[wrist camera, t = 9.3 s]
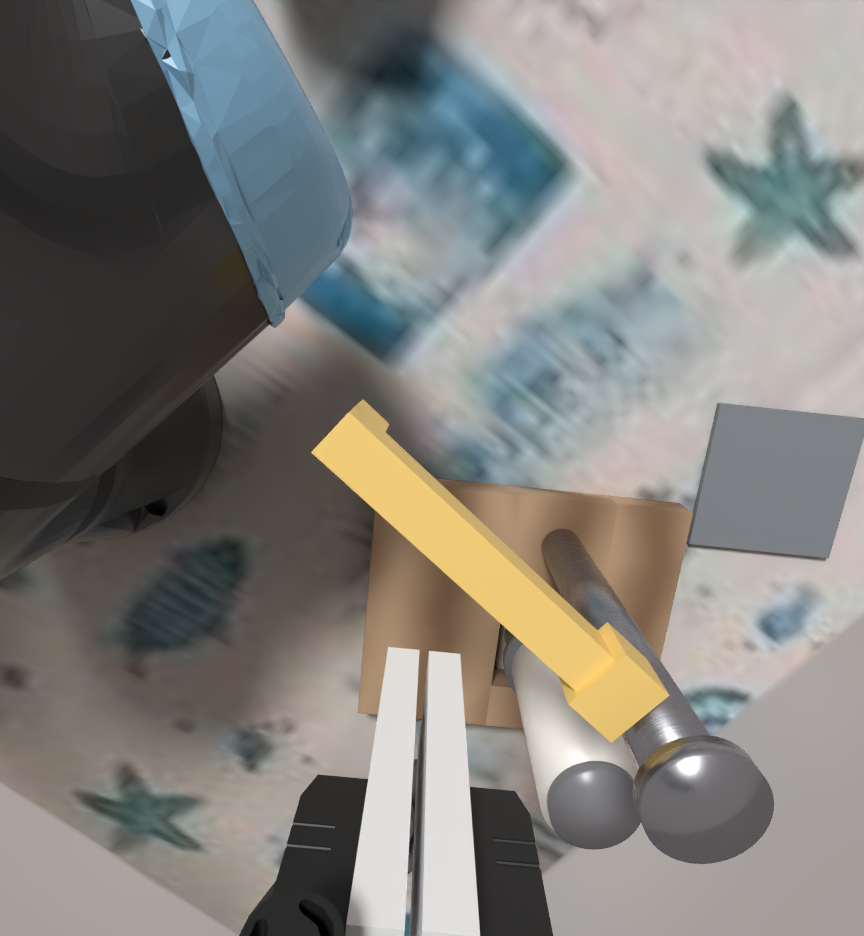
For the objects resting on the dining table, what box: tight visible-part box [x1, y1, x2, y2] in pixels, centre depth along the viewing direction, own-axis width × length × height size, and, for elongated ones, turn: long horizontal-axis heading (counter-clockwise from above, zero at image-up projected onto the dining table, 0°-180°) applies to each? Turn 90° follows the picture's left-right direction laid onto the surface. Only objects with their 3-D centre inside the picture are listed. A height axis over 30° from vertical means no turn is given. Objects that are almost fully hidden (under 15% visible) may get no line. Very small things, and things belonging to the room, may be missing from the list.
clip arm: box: [311, 399, 670, 743], centre depth 18 cm, size 2×13×3 cm, turn 46°
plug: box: [503, 628, 641, 849], centre depth 31 cm, size 5×5×15 cm
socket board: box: [358, 478, 693, 739], centre depth 37 cm, size 19×16×2 cm
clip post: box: [541, 529, 774, 864], centre depth 25 cm, size 4×4×20 cm
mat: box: [687, 403, 864, 558], centre depth 36 cm, size 9×9×1 cm
